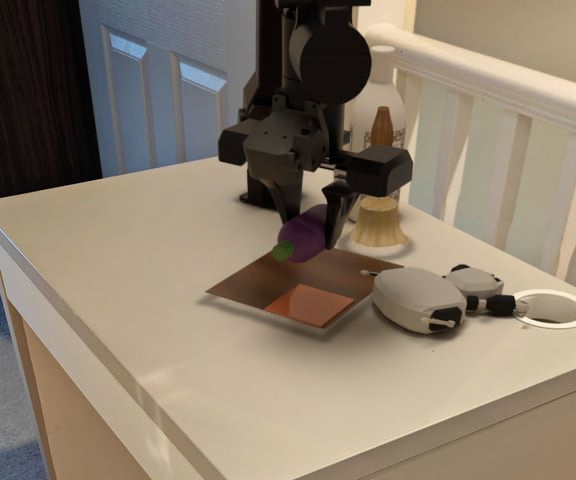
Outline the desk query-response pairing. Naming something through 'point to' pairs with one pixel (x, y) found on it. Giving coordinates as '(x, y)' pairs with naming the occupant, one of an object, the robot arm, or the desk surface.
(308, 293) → the corner square
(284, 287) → the board
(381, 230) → the hand bell
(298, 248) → the eggplant
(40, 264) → the desk surface
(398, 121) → the bath foam
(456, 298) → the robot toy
